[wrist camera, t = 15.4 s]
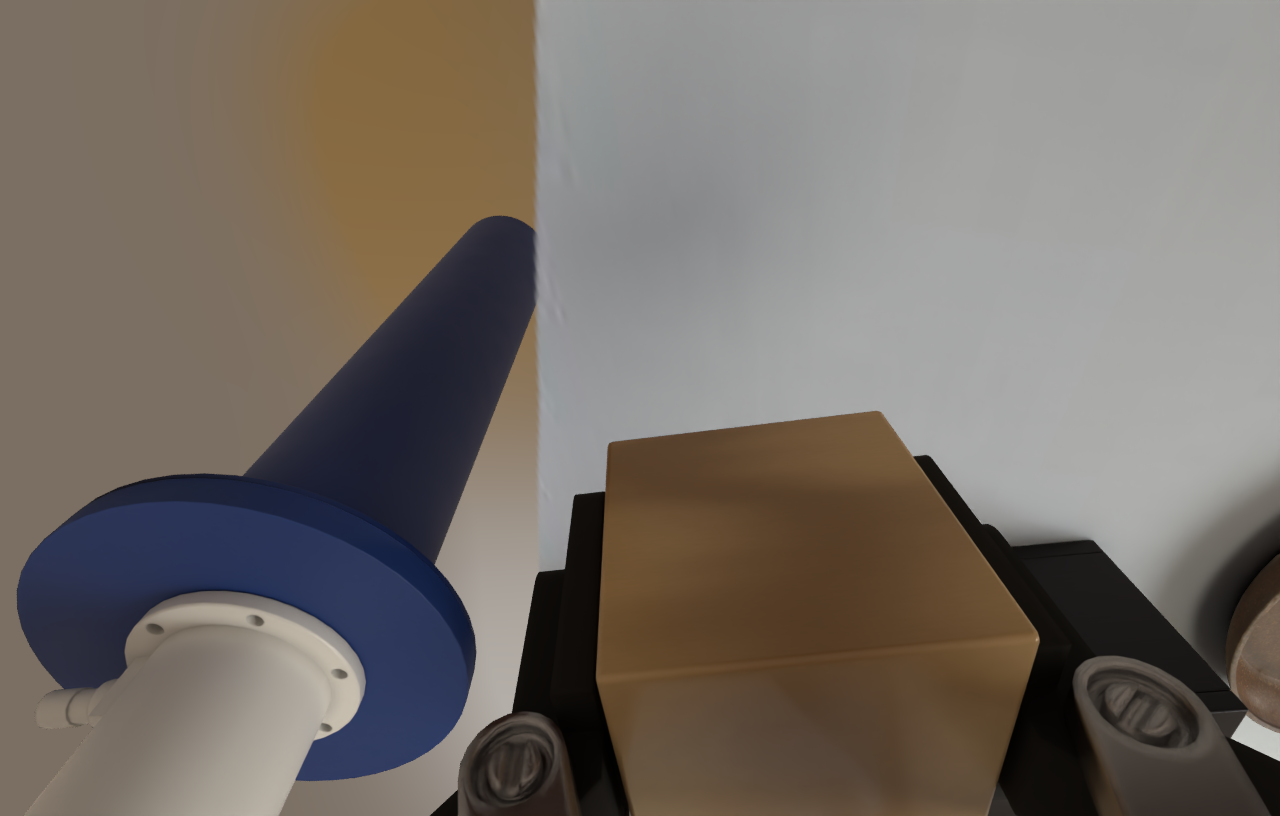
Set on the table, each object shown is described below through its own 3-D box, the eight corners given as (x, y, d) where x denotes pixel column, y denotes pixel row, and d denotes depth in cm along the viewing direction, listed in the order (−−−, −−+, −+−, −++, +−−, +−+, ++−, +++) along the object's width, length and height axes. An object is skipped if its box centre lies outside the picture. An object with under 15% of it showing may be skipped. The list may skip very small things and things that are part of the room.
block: (640, 624, 13) (647, 887, 9) (606, 439, 10) (592, 681, 6) (865, 601, 12) (978, 860, 8) (881, 408, 10) (1046, 637, 6)
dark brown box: (810, 704, 40) (857, 878, 32) (816, 563, 34) (877, 736, 25) (1041, 686, 39) (1151, 861, 31) (1093, 539, 33) (1251, 709, 24)
